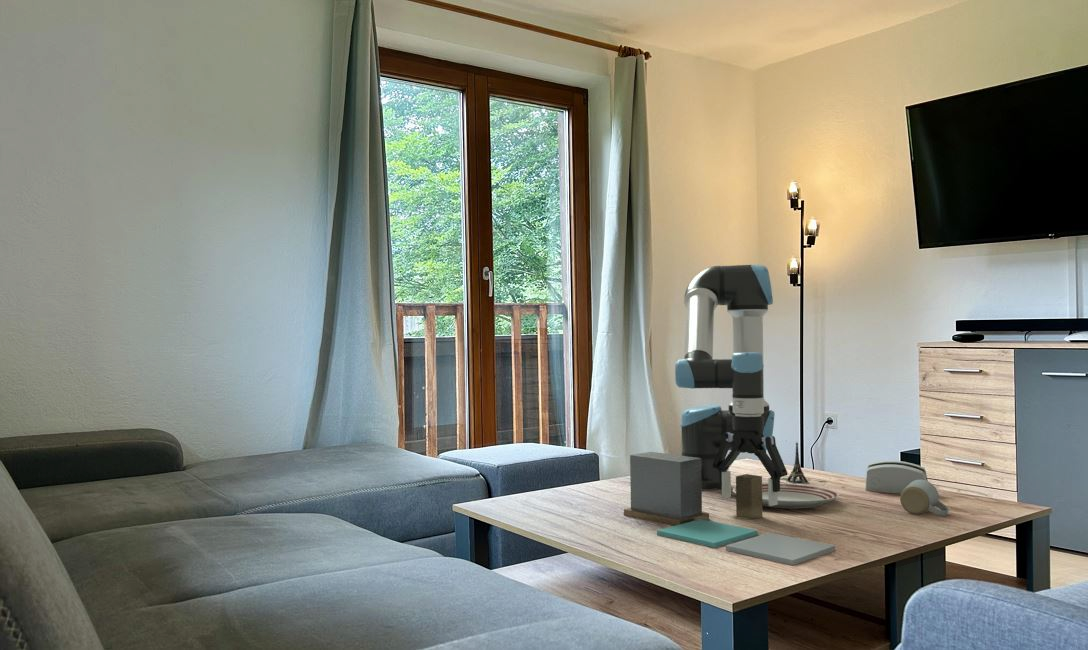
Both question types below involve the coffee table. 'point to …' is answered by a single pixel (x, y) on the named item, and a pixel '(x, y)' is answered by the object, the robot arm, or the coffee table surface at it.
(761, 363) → the robot arm
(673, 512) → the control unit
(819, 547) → the grey pad
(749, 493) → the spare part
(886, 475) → the napkin holder
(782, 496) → the dinner plate
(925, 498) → the ceramic mug
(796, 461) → the eiffel tower figurine
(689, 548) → the coffee table surface
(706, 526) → the teal pad
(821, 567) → the coffee table surface
